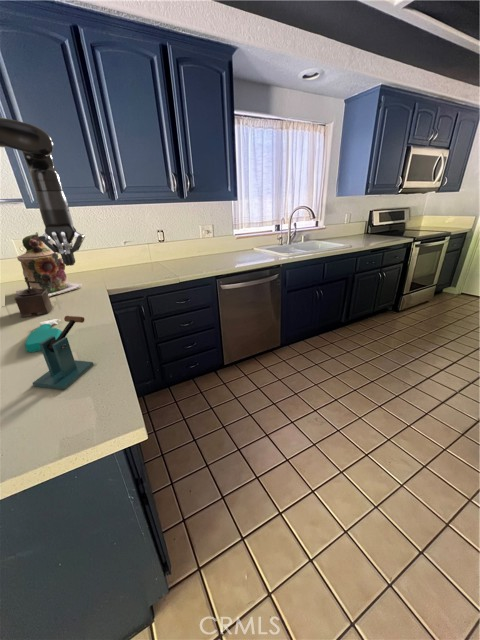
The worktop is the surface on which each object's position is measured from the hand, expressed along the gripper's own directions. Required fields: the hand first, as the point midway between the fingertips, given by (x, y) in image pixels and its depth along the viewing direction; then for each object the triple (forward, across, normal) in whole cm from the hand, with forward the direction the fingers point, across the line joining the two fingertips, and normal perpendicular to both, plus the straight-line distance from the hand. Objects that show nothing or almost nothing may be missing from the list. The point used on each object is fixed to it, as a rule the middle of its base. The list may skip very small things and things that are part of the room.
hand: (70, 265), depth 87 cm
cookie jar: (+28, -44, +66) cm, 84 cm away
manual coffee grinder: (+28, -32, +34) cm, 54 cm away
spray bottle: (+28, -18, +6) cm, 34 cm away
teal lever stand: (+28, 0, -22) cm, 36 cm away
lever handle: (+17, +2, -18) cm, 25 cm away
